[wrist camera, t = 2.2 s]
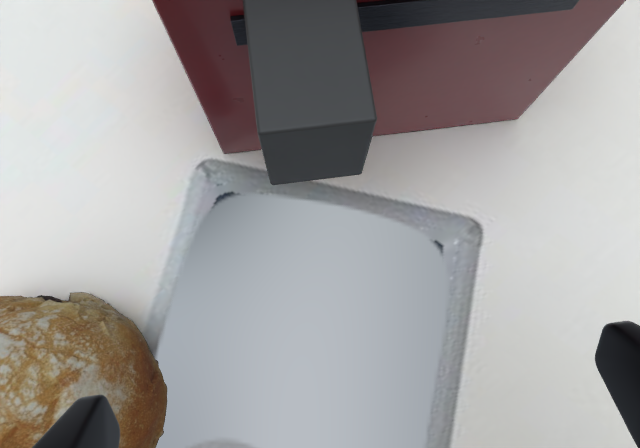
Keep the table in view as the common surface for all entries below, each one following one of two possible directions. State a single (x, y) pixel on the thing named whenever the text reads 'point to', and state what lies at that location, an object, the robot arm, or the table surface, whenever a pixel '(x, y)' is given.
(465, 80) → the toaster
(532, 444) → the table surface
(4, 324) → the bread roll
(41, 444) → the robot arm
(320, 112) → the slider
